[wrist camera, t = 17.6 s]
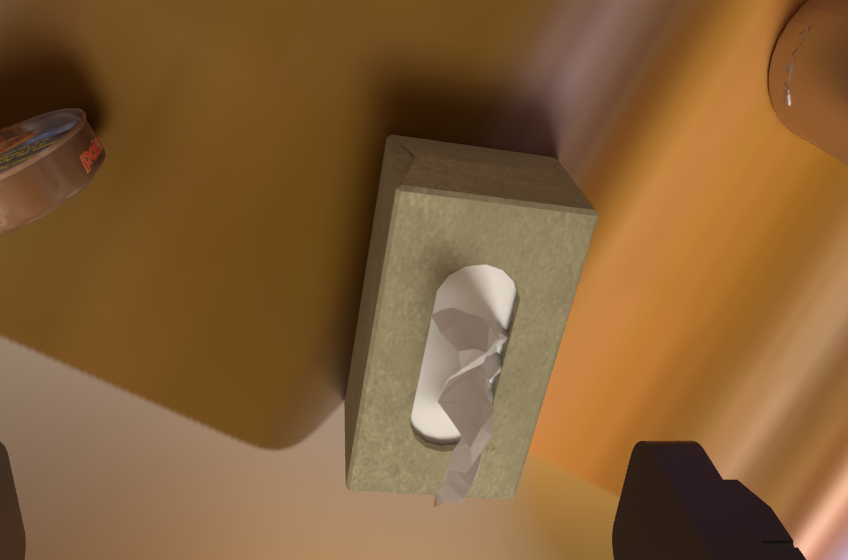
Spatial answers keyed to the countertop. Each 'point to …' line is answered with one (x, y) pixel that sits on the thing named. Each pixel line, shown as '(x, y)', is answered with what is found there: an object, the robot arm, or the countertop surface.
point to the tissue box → (460, 317)
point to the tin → (45, 164)
